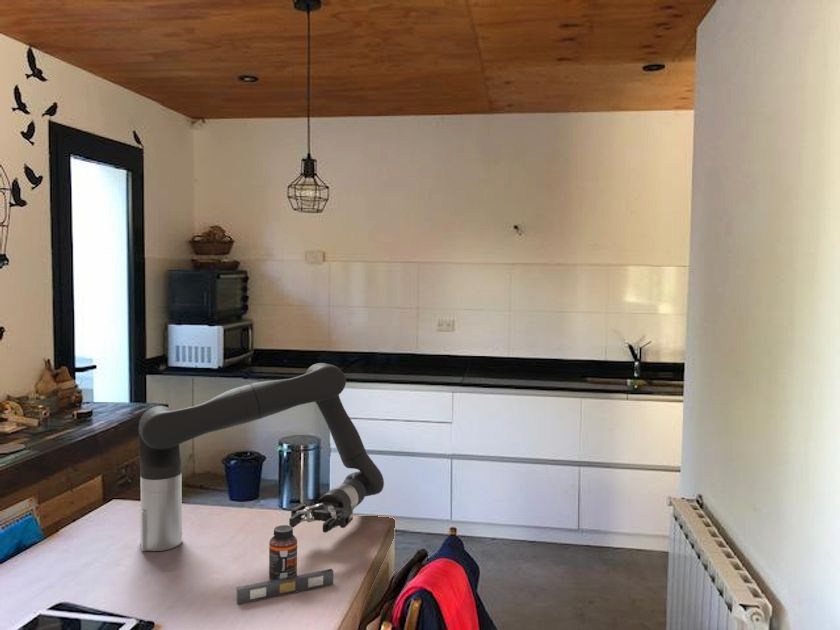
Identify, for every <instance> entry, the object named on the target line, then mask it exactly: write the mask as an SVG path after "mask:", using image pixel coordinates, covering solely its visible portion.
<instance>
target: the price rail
mask: <svg viewBox="0 0 840 630" xmlns="http://www.w3.org/2000/svg"><path fill="white" fill-rule="evenodd" d="M334 578H335V576H334V569H333V568H329V569H328V568H327V569H323V570H319V571H313V572H308V573H304V574H297V576H292V577H287V578H282V579H277V580H271V581H270V580H268V581H262V582H257V583H252V584H246V585H241V586H237V587H236V604H237V605H241V604H247V603H251V602H252V603H253V602H257V601H262V600H268V599H273V598H276V597H281V596H286V595H290V594H291V595H292V594H295V593H299V592H306V591H311V590H314V589H319V588H320V589H321V588H323V587H329V586H334Z"/></svg>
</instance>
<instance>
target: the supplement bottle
mask: <svg viewBox="0 0 840 630" xmlns="http://www.w3.org/2000/svg"><path fill="white" fill-rule="evenodd" d="M268 545H269V547H268V549H269V551H268V552H269V553H268V559H269V560H268V563H269V564H268V565H269V566H268V574H269V575H268V581H271V580H277V579H282V578H287V577H292V576H297V575H298V539H297V537H296V536H295V535H294V527H291V526H290V525H288V524H282V525H277V526H275V527H274V529H273V536H272V537H271V538H270V539H269V543H268Z"/></svg>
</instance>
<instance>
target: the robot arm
mask: <svg viewBox="0 0 840 630" xmlns="http://www.w3.org/2000/svg"><path fill="white" fill-rule="evenodd" d="M346 385H347V378H346V374H345V373H344V371H342V370H341V369H340V368H339V367H338V366H336V365H333V364H329V363H326V362H319V363H318V362H317V363H315V364H312V365H311V366H309V367H308V369H307V370H306V372H305V373H304V374H301V375H298V376H296V377H295V376H294V377H291V378H283V379H274V380H273V379H272V380H264V381H257V382H254V383H249V384H245V385H241V386H238V387H234V388H231V389H229V390H227V391H224V392H222V393H220V394H218V395H216V396H215V397H213V398H210V399H209V400H207V401H205V402H203V403H200V404H197V405H194V406H189V407H185V408H180V409H176V410H175V409H171V408H170V407H167V406H164V405H157V406H153V407H151V408H148V409H147V410H146V411H145V412H144V413H143V414H142V415H141V417H140V419H139V423H138V456H139V457H138V458H139V459H138V460H139V471H140V473H139V474H140V475H139V476H140V504H139V521H140V522H139V523H140V525H139V526H140V527H139V528H140V530H139V531H140V532H139V534H140V535H139V536H140V546H141V552H146V551H147V552H163V551H168V550H171V549H175V548H176V547H178V546H180V545H181V544H182V542H183V518H182V517H183V511H182V510H183V509H182V508H183V507H182V506H183V504H182V503H183V502H182V499H183V497H182V495H183V494H182V493H183V491H182V482H183V480H182V478H183V477H182V476H183V475H182V458H181V451H180V445H181V444H183V443H185V442H188V441H190V440H193V439H195V438H198V437H200V436H203V435H205V434H206V435H207V434H209V433H213V432H217V431H221V430H225V429H229V428H232V427H236V426H240V425H243V424H247V423H250V422H251V423H252V422H254V421H257V420H261V419H263V418H266V417H269V416H272V415H275V414H278V413H281V412H284V411H287V410H289V409H292V408H294V407H298V406H301V405H305V404H310V403H315V404H316V405H317V407H318V409H319V411H320V413H321V415H322V416H323V419H324V421H325V423H326V425H327V427H328V429H329V433H330V435H331V436H332V441H333V442H334V444H335V447H336V449H337V452H338V455H339V456H340V459H341V462H342V464H343V466H344V467H345V468H347V469H354V470H358V471H356V472H355V471H354V472H352V473H349V474H348V475H347V476H346V477H345V478H344V480H343V482H342V483H341V484H340V485H337V486H335V487H333V488H332V489H330V490H329V491H328V492H326V493H324V494H323V495H322V496H321V497H320V498H319V499H318V501H317V503H316V504H313V505H310V506H309V505H308V503H307V502H301V503H300V504H298V505H297V506H295V507H293V508H291V510H290V517H289V522H288V523H289V526H291V527H292V528H295V527H296V526H297V525H299V524H300V523H302V522H306V523H312V522H323V523H322V533H328V532H330V531H331V530H332V529H336V528H338V527H339V528H341V529H344V528H346V527H347V526H348V525H349V524H351V522H352V521H353V517H354V512H353V511H354V509H355V508H356V507H357V506H359V505H360V504H361V503H362V502H363V501H364V499H365V497H369V496H375V495H378V494H380V493H381V492H382V491H383V490H384V487H385V481H384V480H385V479H384V477H383V473H382V472H381V471H380V469H379V467H378V466H377V464H375V463H374V462H373V460H372V459H371V457H370V456H369V454H368V453H367V451H366V448H365V446H364V443H363V441H362V439H361V436H360V433H359V432H358V429H357V428H356V426H355V424H354V423H353V421H352V419H351V418H350V416H349V414H348V412H347V411H346V409H345V407H344V405H343V403H342V400H341V397H340V395H341V393H342V392H343V391H344V389H345V387H346ZM303 516H304V517H303Z"/></svg>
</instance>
